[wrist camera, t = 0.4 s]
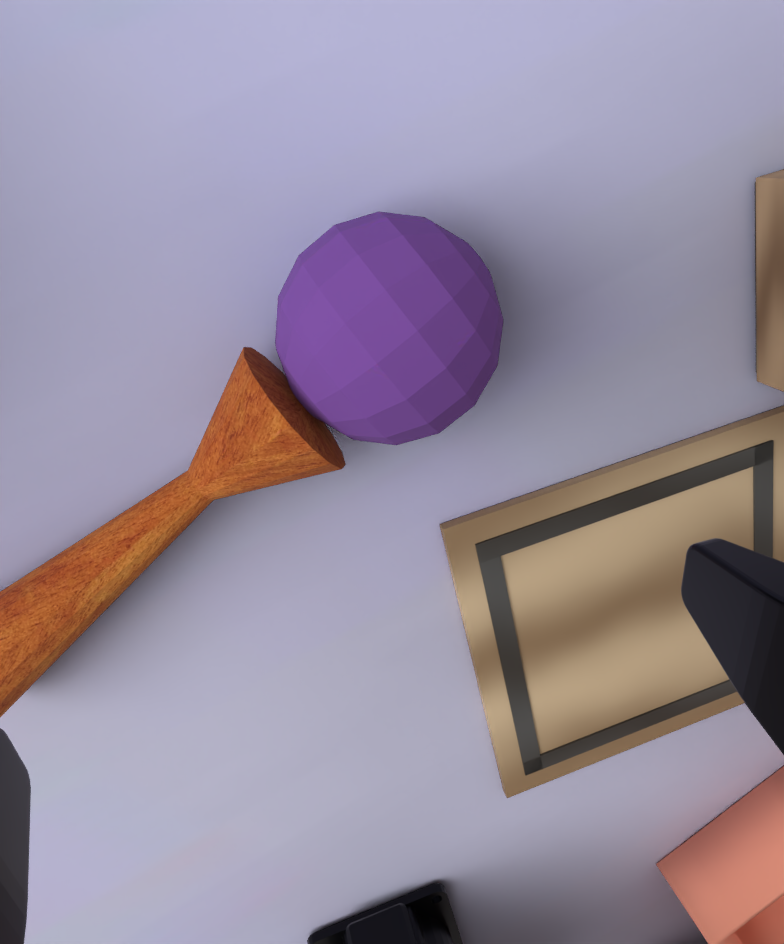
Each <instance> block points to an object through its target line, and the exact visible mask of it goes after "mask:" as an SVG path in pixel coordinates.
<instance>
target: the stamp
mask: <svg viewBox="0 0 784 944" xmlns="http://www.w3.org/2000/svg"><path fill="white" fill-rule="evenodd" d="M755 282H756V372H757V381H758V382H760V383H763V384H765V385H768V386H770V387H773V388H775V389H778V390H780V391H783V392H784V169H783V170H780V171H777V172H773V173H770V174H767V175H763V176H760V177H757V178H756V182H755Z"/></svg>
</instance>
